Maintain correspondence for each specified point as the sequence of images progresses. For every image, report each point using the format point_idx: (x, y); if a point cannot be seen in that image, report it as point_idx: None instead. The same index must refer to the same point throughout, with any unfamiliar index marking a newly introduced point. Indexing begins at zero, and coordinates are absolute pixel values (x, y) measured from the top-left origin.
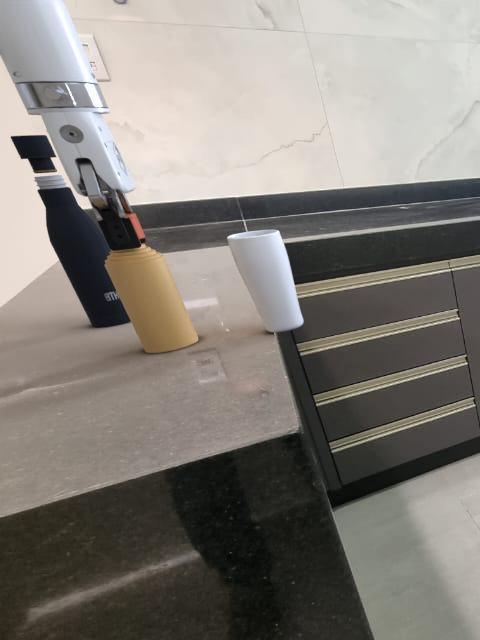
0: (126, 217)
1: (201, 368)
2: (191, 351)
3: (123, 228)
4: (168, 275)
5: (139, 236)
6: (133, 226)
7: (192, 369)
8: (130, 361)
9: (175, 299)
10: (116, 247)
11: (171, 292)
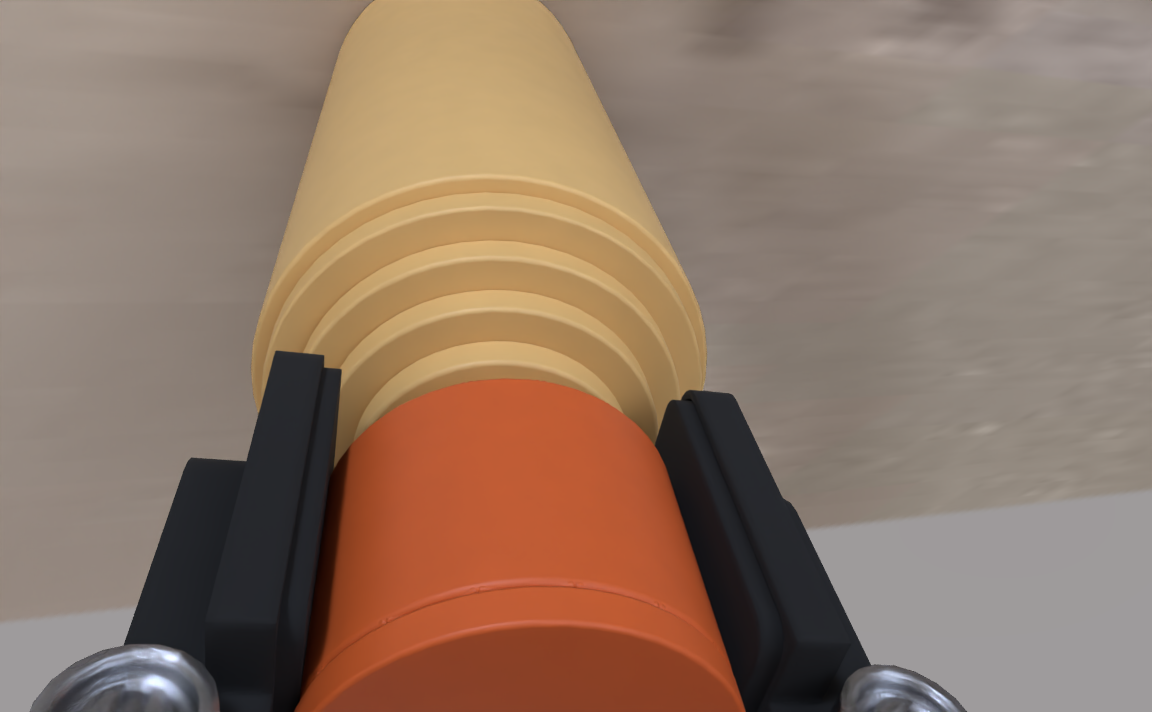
0: (726, 672)
1: (1025, 35)
2: (690, 36)
3: (842, 612)
4: (577, 133)
5: (635, 437)
6: (769, 542)
7: (995, 69)
8: None
9: (582, 89)
10: None
11: (597, 114)
